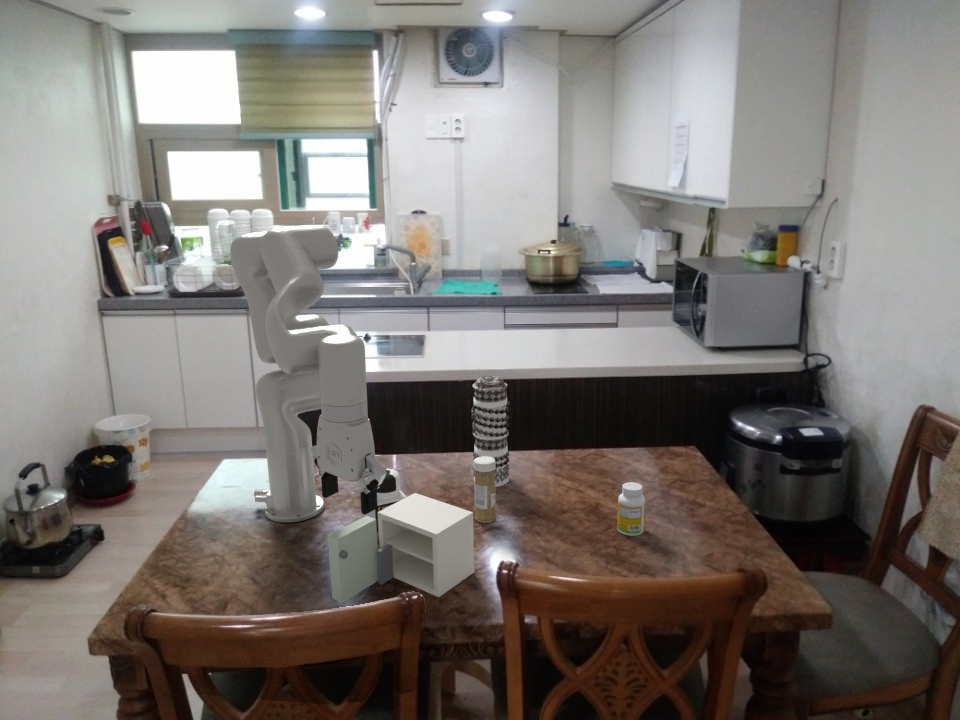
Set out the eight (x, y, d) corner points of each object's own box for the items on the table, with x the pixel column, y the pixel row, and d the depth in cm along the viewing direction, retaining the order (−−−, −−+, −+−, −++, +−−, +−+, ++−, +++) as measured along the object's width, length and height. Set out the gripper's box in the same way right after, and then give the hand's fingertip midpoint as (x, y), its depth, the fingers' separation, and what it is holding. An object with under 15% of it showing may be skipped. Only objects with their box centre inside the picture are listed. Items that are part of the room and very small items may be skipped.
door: (332, 598, 126) (327, 535, 123) (370, 575, 133) (366, 515, 130) (344, 604, 124) (340, 540, 121) (382, 581, 131) (379, 520, 128)
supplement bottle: (627, 521, 152) (628, 478, 149) (649, 530, 148) (651, 485, 146) (611, 530, 148) (613, 486, 146) (634, 539, 144) (636, 494, 142)
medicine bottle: (376, 537, 147) (373, 482, 144) (365, 522, 153) (361, 469, 150) (409, 528, 150) (407, 474, 147) (396, 515, 156) (394, 462, 153)
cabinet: (360, 575, 133) (356, 515, 130) (409, 546, 143) (406, 490, 140) (427, 605, 124) (424, 541, 121) (474, 572, 134) (473, 512, 130)
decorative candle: (515, 485, 170) (515, 382, 164) (476, 489, 168) (475, 385, 162) (505, 470, 178) (504, 372, 172) (468, 474, 176) (466, 375, 170)
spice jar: (500, 520, 153) (499, 460, 150) (482, 526, 151) (481, 465, 147) (488, 512, 157) (487, 453, 154) (470, 517, 155) (469, 458, 151)
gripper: (292, 404, 123) (299, 496, 128) (364, 428, 113) (369, 527, 117) (326, 393, 128) (332, 481, 133) (398, 414, 118) (401, 509, 123)
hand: (349, 502), depth 125 cm, fingers open, 9 cm apart
